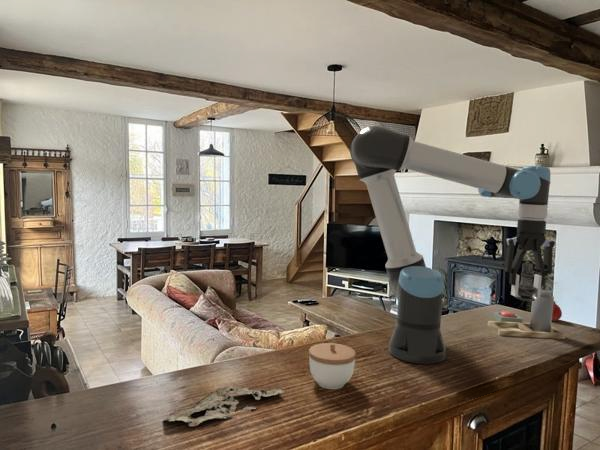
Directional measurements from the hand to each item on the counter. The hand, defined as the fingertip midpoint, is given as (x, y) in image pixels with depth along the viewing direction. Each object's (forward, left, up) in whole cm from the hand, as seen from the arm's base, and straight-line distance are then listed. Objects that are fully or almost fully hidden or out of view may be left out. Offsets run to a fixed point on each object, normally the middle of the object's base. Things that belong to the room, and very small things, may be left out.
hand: (525, 296), depth 135 cm
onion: (+21, +25, -15) cm, 36 cm away
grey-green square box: (+4, +21, -15) cm, 26 cm away
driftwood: (-79, -50, -15) cm, 95 cm away
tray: (+5, +9, -15) cm, 18 cm away
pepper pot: (+10, +9, -14) cm, 19 cm away
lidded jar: (-58, -35, -15) cm, 70 cm away
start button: (+4, +21, -14) cm, 25 cm away
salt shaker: (0, 0, -1) cm, 1 cm away
